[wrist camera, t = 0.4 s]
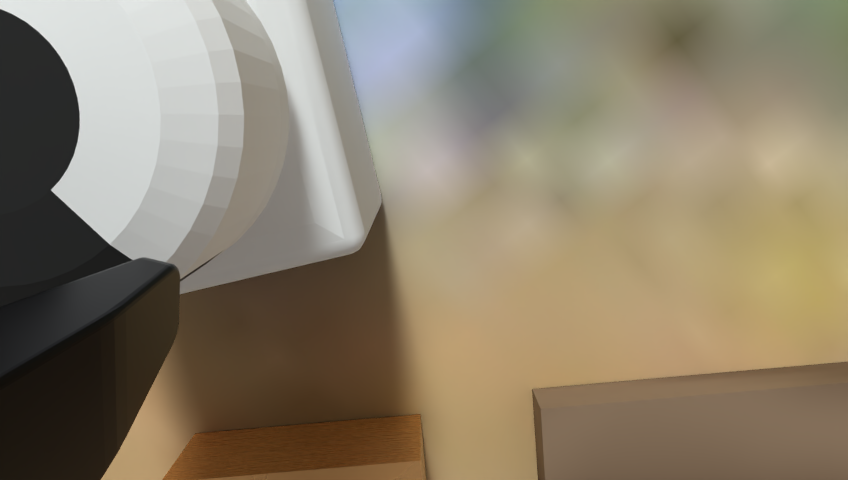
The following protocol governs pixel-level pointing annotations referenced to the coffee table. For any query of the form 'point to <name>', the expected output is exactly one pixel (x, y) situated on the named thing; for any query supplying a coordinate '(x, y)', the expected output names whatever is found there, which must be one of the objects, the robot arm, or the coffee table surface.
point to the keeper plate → (698, 427)
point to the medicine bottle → (177, 140)
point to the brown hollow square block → (308, 452)
